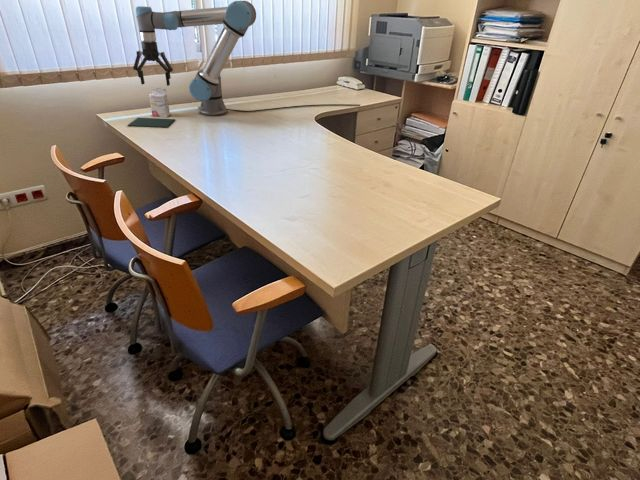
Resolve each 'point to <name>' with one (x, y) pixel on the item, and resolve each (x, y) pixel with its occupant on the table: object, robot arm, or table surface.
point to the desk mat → (152, 122)
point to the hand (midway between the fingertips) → (155, 84)
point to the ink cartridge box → (159, 102)
